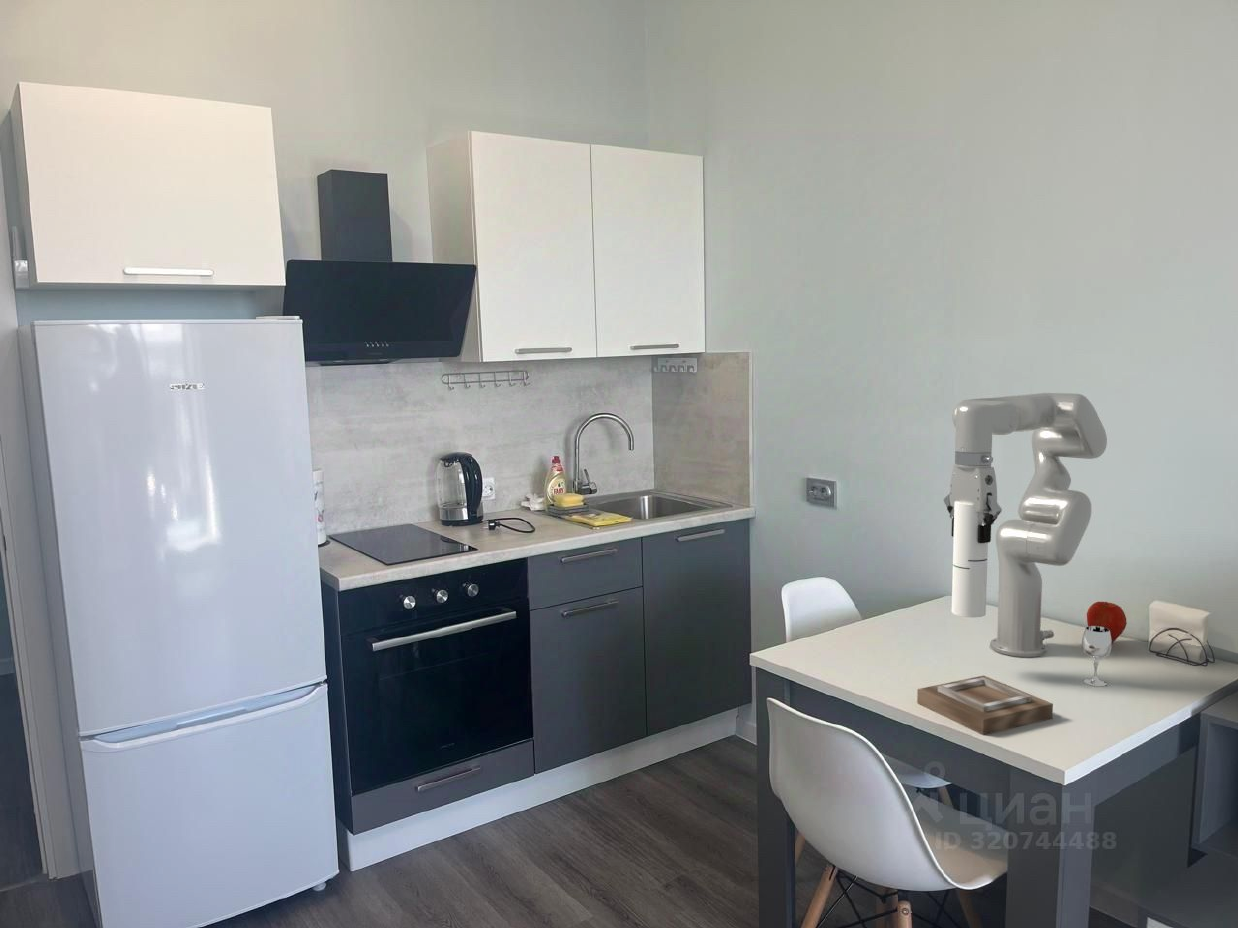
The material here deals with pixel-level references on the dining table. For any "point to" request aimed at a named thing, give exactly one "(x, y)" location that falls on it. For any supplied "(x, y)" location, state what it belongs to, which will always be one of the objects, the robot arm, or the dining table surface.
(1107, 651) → the wineglass
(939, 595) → the dining table surface
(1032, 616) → the robot arm
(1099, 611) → the apple
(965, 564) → the cylindrical container
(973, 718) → the walnut base
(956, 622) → the dining table surface
